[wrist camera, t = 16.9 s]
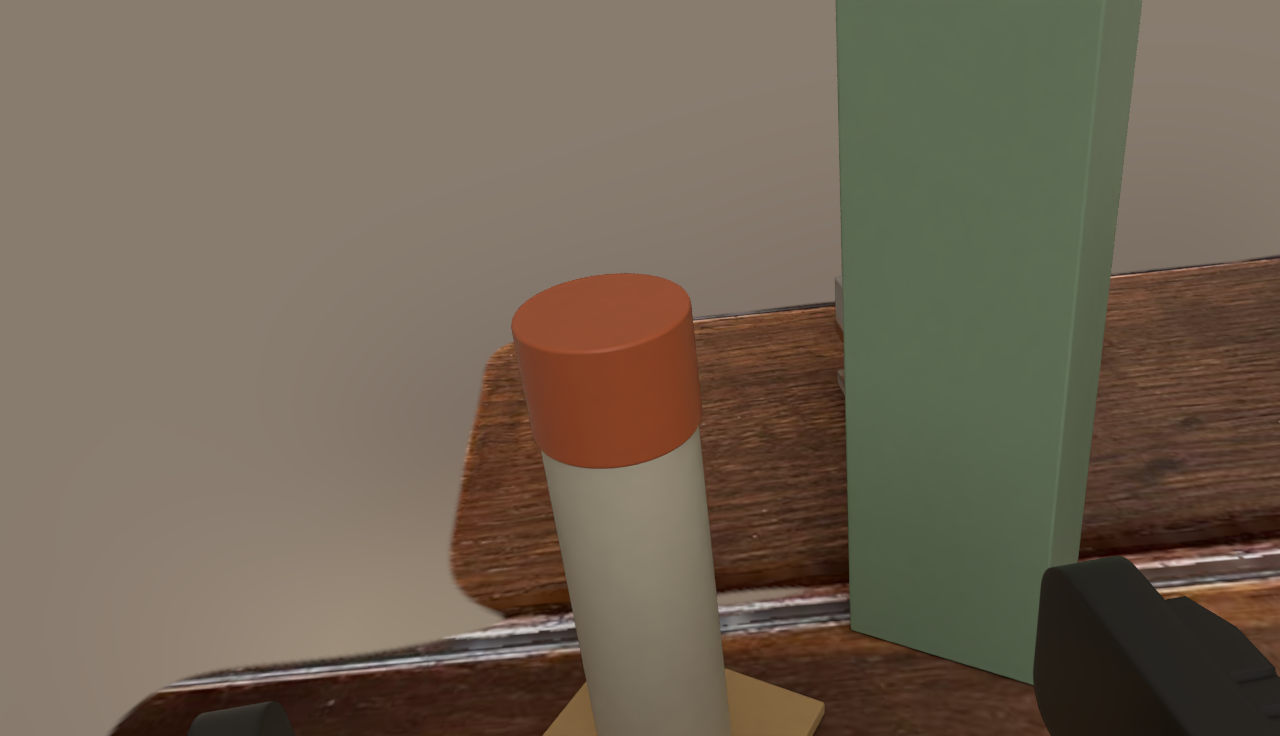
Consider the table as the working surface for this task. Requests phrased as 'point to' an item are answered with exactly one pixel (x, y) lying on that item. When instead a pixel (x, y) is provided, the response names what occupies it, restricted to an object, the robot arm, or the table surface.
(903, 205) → the holder
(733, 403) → the table surface
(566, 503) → the marker
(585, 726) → the coaster
